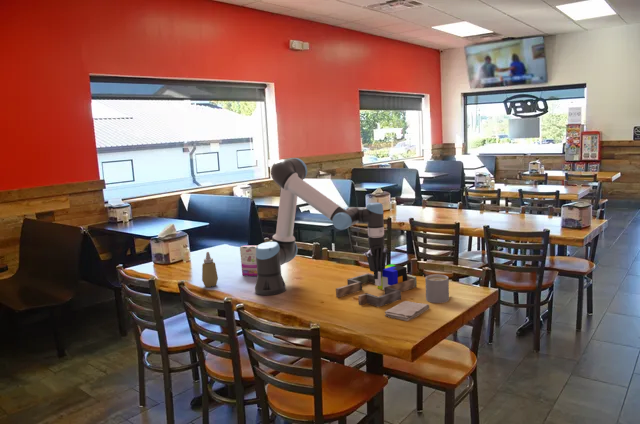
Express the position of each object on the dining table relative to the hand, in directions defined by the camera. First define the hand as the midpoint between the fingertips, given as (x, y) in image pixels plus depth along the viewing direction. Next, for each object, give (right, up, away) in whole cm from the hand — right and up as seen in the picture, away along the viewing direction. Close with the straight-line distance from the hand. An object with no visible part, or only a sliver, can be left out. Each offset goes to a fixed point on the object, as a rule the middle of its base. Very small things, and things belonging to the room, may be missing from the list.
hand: (378, 285), depth 249 cm
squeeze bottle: (-84, -4, +26) cm, 88 cm away
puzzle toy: (+7, -2, +5) cm, 9 cm away
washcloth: (+9, -8, -29) cm, 31 cm away
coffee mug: (+25, -4, -14) cm, 29 cm away
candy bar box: (-64, 0, +42) cm, 77 cm away
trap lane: (-1, -3, 0) cm, 3 cm away
